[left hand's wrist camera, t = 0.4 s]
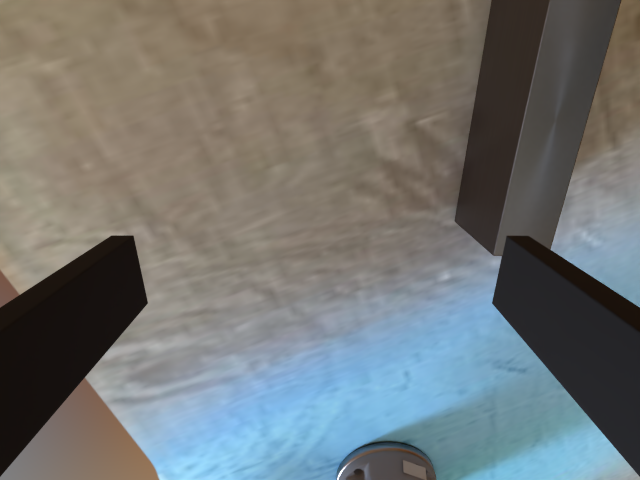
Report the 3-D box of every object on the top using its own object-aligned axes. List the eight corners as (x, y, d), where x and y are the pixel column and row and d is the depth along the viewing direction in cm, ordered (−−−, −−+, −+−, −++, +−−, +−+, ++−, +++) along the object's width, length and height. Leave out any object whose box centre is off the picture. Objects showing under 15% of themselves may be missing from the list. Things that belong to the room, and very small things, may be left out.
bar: (497, 222, 39) (548, 256, 30) (454, 221, 39) (493, 256, 30) (549, -18, 31) (640, -66, 22) (494, -20, 31) (564, -68, 22)
